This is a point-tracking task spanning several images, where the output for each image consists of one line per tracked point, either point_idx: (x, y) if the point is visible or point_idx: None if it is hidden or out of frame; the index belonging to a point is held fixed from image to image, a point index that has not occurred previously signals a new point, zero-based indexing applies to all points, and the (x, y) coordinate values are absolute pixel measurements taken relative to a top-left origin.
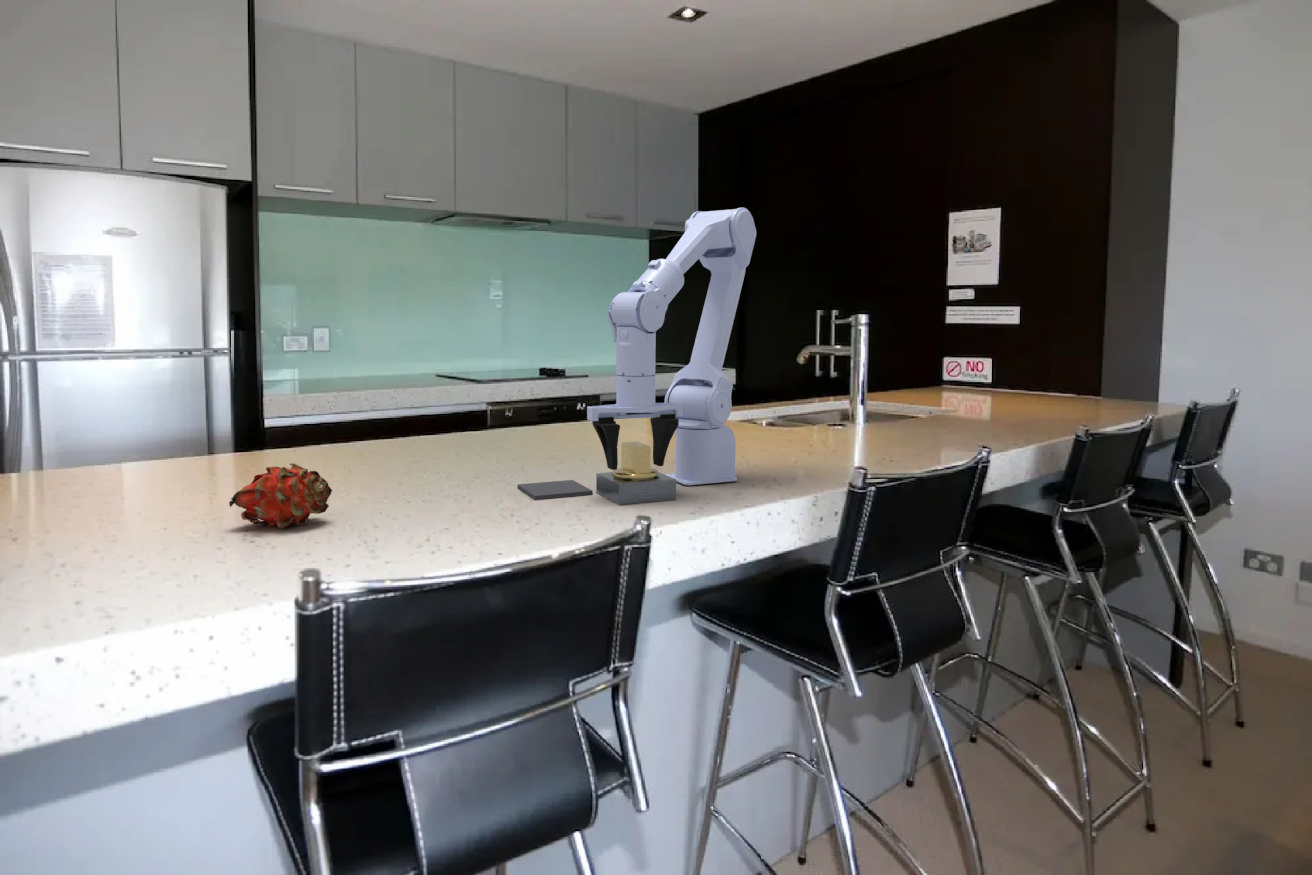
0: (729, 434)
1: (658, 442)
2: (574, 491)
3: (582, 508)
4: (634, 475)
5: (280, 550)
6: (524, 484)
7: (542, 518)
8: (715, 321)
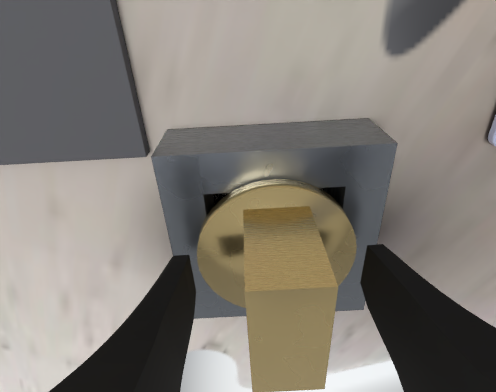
0: None
1: (406, 349)
2: (82, 148)
3: (102, 276)
4: (245, 307)
5: None
6: None
7: (11, 319)
8: None
